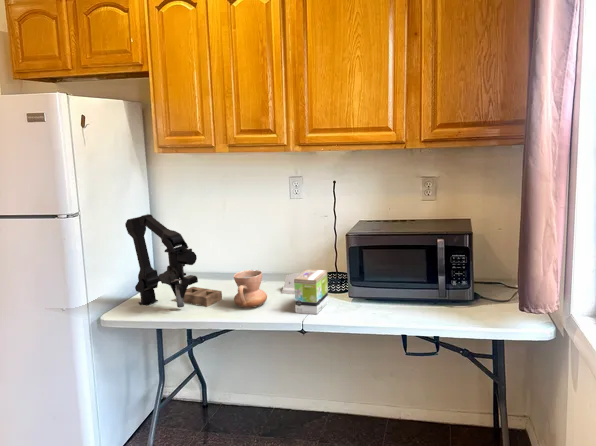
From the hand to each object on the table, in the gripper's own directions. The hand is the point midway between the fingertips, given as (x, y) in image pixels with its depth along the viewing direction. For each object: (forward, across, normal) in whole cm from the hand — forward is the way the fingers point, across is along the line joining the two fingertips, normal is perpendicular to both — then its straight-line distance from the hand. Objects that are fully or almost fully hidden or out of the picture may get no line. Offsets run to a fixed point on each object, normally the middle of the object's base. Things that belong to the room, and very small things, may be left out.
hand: (179, 297), depth 235 cm
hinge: (+6, +36, +41) cm, 55 cm away
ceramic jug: (+6, +25, +17) cm, 31 cm away
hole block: (+6, -1, +13) cm, 14 cm away
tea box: (+6, +52, +25) cm, 58 cm away
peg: (+4, 0, 0) cm, 4 cm away
